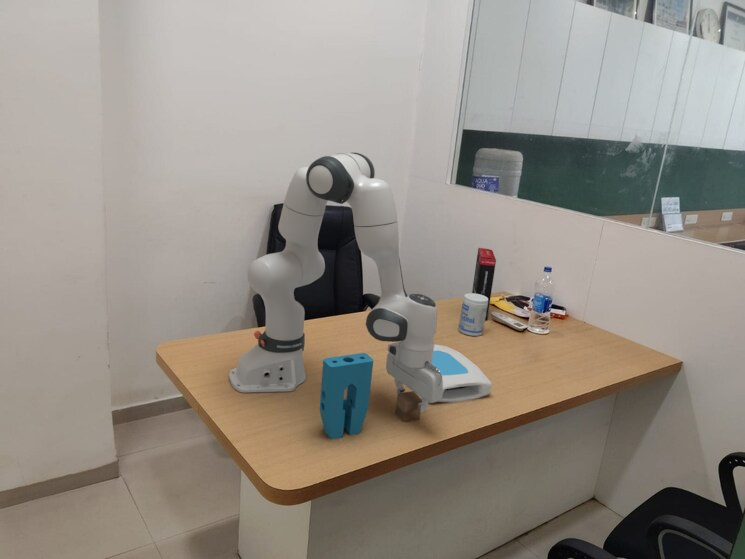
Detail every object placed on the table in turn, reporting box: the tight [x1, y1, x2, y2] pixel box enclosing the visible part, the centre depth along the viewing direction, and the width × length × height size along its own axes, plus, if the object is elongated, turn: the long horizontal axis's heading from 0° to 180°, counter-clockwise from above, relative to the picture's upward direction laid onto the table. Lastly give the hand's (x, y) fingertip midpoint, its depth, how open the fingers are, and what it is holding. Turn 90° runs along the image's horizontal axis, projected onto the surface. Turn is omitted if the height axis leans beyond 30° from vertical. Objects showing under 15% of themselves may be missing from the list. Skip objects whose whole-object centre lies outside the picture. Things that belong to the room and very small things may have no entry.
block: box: [319, 352, 374, 440], centre depth 136 cm, size 12×5×20 cm, turn 119°
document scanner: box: [432, 343, 493, 404], centre depth 171 cm, size 21×28×6 cm
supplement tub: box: [458, 292, 488, 337], centre depth 212 cm, size 10×10×15 cm
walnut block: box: [394, 390, 423, 423], centre depth 148 cm, size 5×5×6 cm
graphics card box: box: [471, 247, 497, 321], centre depth 232 cm, size 17×7×27 cm, turn 174°
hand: (410, 401), depth 147 cm, fingers open, 8 cm apart
